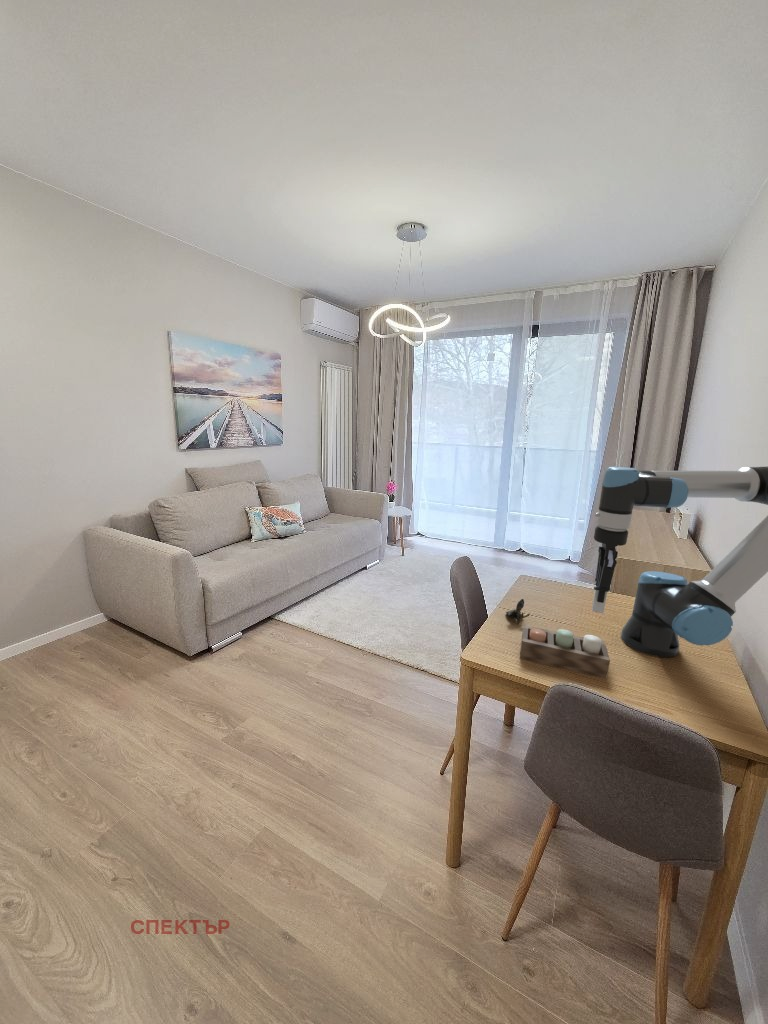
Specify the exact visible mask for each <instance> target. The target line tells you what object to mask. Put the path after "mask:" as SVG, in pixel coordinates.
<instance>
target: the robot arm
mask: <svg viewBox="0 0 768 1024" xmlns="http://www.w3.org/2000/svg"><path fill="white" fill-rule="evenodd" d="M604 471H605V472H604V474H603V475H604V476H603V479H602V482H601V492H600V499H599V506H598V512H596V513H595V514H594V516H595V517H596V524H597V525H596V526H595V527H594V535H593V540H594V541H596V542H597V543H599V544H601V545H598V549H597V550H598V557H597V566H596V573H595V579H594V581H595V584H594V586H593V590H594V593H593V600H592V606H591V611H592V613H593V612H594V613H598V614H605V606H606V601H607V595H608V592H610V591H611V586H612V585H611V584H612V581H613V577H614V574H615V573H614V572H615V567H616V565H617V560H616V559H617V558H618V554H619V553H618V551H617V546H619V547H621V546H625V545H626V544H627V541H628V537H629V529H630V526H631V521H632V517H633V516H632V515H633V509H634V506H635V507H651V508H652V507H653V508H664V509H668V508H679V507H681V506H683V505H684V504H685V502H686V501H687V500H688V498H702V499H703V498H707V499H708V498H715V499H716V498H718V499H719V498H721V499H723V498H724V499H735V500H737V501H739V502H748V503H749V502H752V503H756V504H757V503H758V504H763V505H766V506H768V466H749V467H747V466H744V467H740V468H738V469H737V470H639V469H637V468H634V467H628V466H627V467H626V466H625V467H624V466H610V467H607V468H606V470H604ZM767 573H768V515H767V516H765V518H763V520H761V522H760V523H758V524H757V525H756V526H755V527H754V528H753V529H752V530H751V531H750V532H749V533H748V534H747V535H746V536H745V537H744V538H743V539H742V540H741V541H740V542H739V543H738V544H737V545H736V546H735V547H734V548H733V549H732V550H731V551H730V552H729V553H728V554H727V555H726V556H724V557H723V559H722V560H720V562H719V563H718V564H716V566H715V567H713V568H712V569H711V571H709V572H708V573H707V574H706V575H705V576H704V577H703V578H702V579H701V580H691V581H690V582H688V579H687V578H686V577H685V576H684V577H683V576H681V575H679V574H674V573H670V572H664V571H652V570H650V571H644V572H642V573H641V574H640V577H639V579H638V582H637V588H636V593H635V597H634V603H633V608H632V612H631V613H632V614H631V615H630V617H629V619H628V620H627V621H626V623H625V624H624V626H623V627H622V629H621V634H620V638H621V640H622V642H624V644H626V645H627V646H629V647H630V648H632V649H633V650H636V651H638V652H641V653H642V654H646V655H649V656H654V657H658V658H673V657H676V656H677V655H678V654H679V650H680V641H679V637H680V638H681V639H684V640H685V641H686V642H688V643H690V644H692V645H696V646H701V647H703V646H712V645H716V644H718V643H721V642H722V641H724V640H725V639H727V637H729V635H730V634H731V632H732V631H733V628H732V626H734V622H733V618H732V616H733V615H735V614H736V612H737V611H736V610H737V609H736V602H738V601H739V600H740V599H741V598H742V597H743V596H744V595H745V594H746V593H747V592H748V591H749V590H750V589H752V587H753V586H755V585H756V583H758V582H759V581H760V580H761V579H762V578H763V577H764V576H765V575H766V574H767Z"/></svg>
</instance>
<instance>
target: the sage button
mask: <svg viewBox="0 0 768 1024" xmlns="http://www.w3.org/2000/svg"><path fill="white" fill-rule="evenodd" d="M556 632H557V634H556V640H555V646H560V647H565V648H569V649H572V643H573V637H574V636H575V634H574V633H573V632H572V631H571V630H568V629H562V628H559V629H557V630H556Z"/></svg>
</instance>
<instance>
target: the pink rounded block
mask: <svg viewBox="0 0 768 1024" xmlns="http://www.w3.org/2000/svg"><path fill="white" fill-rule="evenodd" d="M541 629H542V628H541ZM541 629H531V630H530V635H529V640H533V641H537V642H542V643H545V639H546V632H544V631H543V630H541Z"/></svg>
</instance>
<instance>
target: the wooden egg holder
mask: <svg viewBox="0 0 768 1024" xmlns="http://www.w3.org/2000/svg"><path fill="white" fill-rule="evenodd" d="M531 629H541V630H543V631H544V632H546V639H545V643H542V642H537V641H533V640H529V635H530V630H531ZM556 634H557V631H554V630H549V629H544V628H540V627H534V626H531V625H526V624H524V625H523V629H522V635H521V643H520V654H519V659H520V660H523V661H528V662H533V663H538V664H541V665H545V666H550V667H555V668H559V669H562V670H568V671H571V672H576V673H580V674H584V675H587V676H588V675H589V676H593V677H597V678H602V679H605V680H607V678H608V673H609V672H608V671H609V667H610V662H611V659H610V655H609V652H608V648H607V644H606V641H603V640H602V643H601V648H600V653H599V655H596V654H592V653H587V652H583V651H582V645H583V640H584V636H580V635H574V637H573V643H572V649H569V648H565V647H560V646H555V640H556Z"/></svg>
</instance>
